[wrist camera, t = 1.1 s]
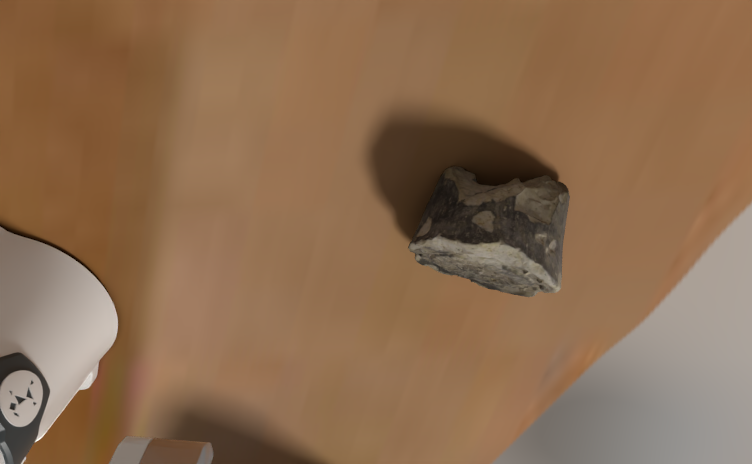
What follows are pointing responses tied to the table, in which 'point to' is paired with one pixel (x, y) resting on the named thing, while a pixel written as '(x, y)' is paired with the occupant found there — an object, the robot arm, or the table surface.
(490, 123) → the table surface
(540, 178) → the fossil
